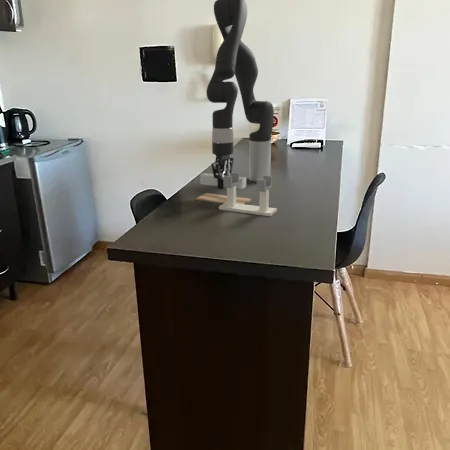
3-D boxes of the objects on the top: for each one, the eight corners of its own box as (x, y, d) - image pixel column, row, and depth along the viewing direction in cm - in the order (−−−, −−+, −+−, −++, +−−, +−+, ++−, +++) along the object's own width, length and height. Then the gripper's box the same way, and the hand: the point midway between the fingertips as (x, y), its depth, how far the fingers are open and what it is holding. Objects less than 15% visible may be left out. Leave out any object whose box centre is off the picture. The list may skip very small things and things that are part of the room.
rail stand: (226, 204, 162) (226, 171, 158) (277, 211, 154) (278, 176, 150) (218, 209, 156) (217, 175, 152) (270, 216, 148) (271, 180, 144)
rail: (204, 182, 171) (204, 172, 169) (246, 186, 164) (246, 177, 162) (200, 184, 168) (200, 174, 166) (242, 188, 161) (242, 179, 159)
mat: (206, 194, 175) (205, 193, 174) (251, 200, 167) (251, 198, 167) (195, 200, 168) (195, 198, 168) (242, 206, 160) (242, 204, 160)
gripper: (222, 137, 168) (222, 182, 173) (203, 142, 156) (204, 191, 161) (240, 138, 165) (240, 184, 170) (223, 144, 153) (223, 193, 158)
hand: (223, 187), depth 166 cm, fingers closed on rail, 3 cm apart
